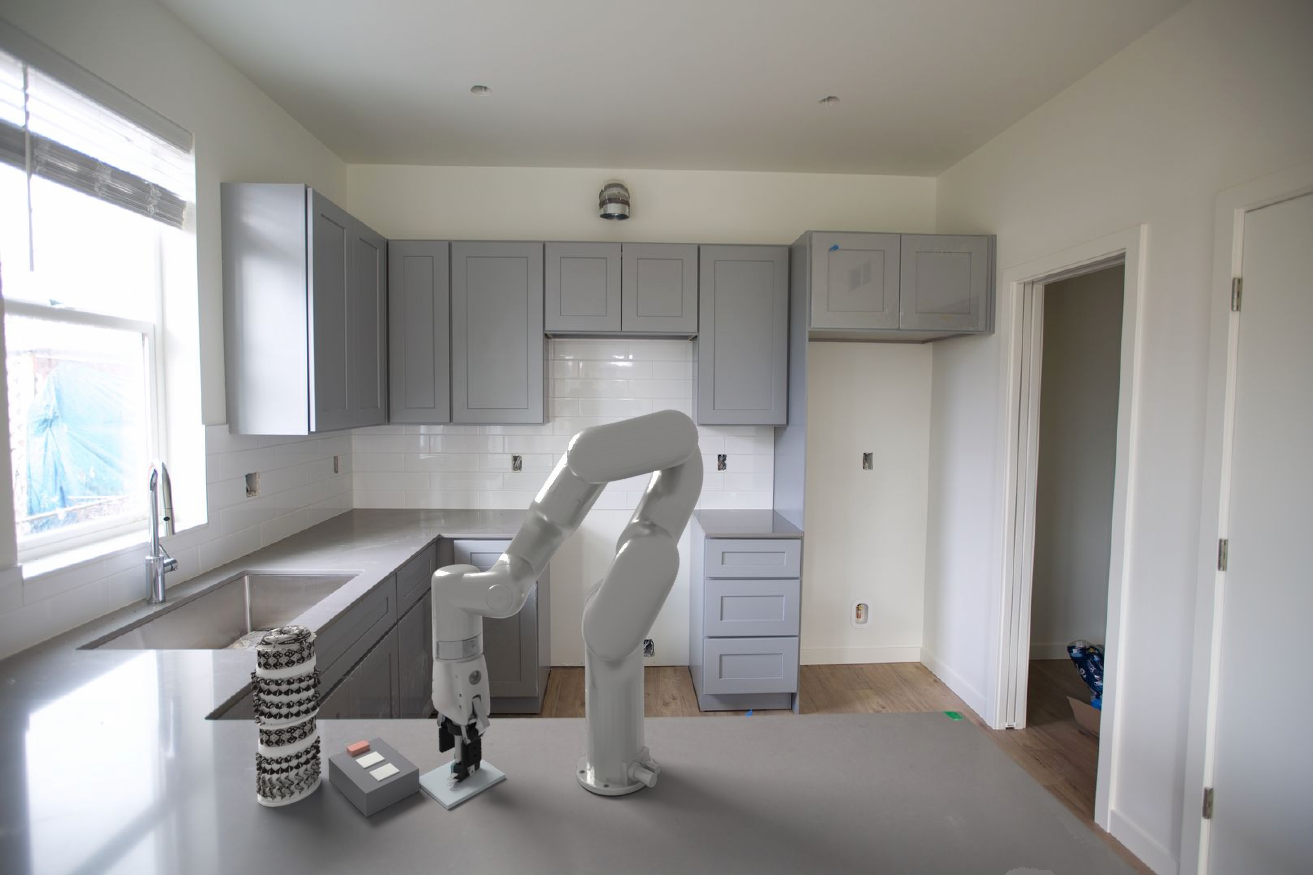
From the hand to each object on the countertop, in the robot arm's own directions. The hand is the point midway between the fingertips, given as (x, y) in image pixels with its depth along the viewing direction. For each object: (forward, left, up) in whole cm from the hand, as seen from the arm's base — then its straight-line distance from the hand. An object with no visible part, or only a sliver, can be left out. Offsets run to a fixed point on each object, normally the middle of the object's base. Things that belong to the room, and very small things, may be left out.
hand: (460, 755), depth 93 cm
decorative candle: (+19, +19, -4) cm, 26 cm away
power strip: (+10, +10, -4) cm, 14 cm away
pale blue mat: (0, 0, -4) cm, 4 cm away
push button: (0, 0, -4) cm, 4 cm away
